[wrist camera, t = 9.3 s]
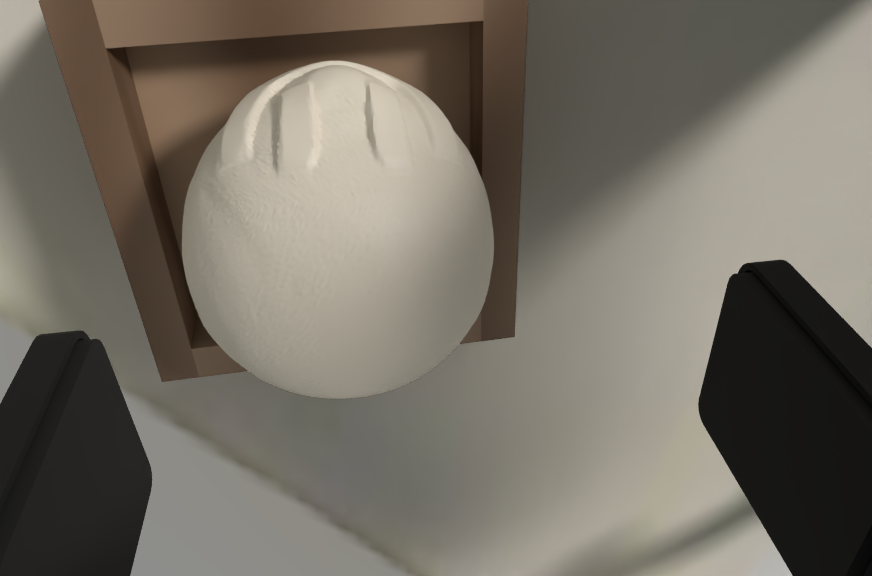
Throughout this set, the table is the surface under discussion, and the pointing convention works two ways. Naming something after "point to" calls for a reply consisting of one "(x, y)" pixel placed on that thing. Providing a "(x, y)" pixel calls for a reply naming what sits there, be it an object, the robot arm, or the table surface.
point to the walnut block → (243, 72)
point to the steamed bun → (337, 233)
